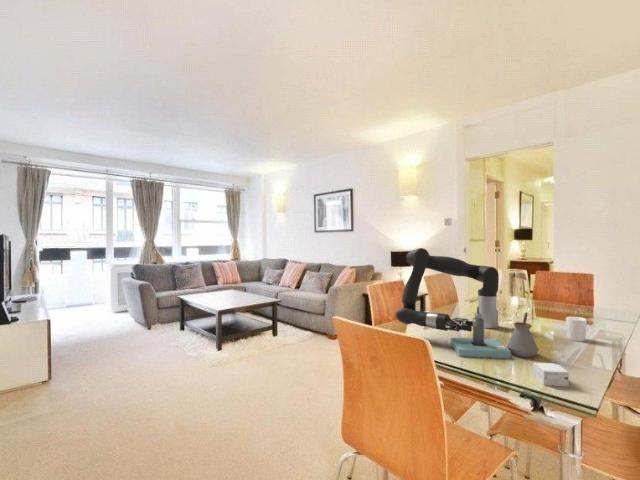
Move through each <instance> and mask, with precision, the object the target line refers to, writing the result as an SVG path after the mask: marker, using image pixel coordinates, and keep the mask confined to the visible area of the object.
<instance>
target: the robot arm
mask: <svg viewBox="0 0 640 480" xmlns="http://www.w3.org/2000/svg"><path fill="white" fill-rule="evenodd" d="M406 262H407V263H408V265H410V266H411V267H412V271H411V273H410V276H409V278H408V280H407V282H406V283H405V285H404V289H403V293H402V298H401V303H402V304H403V307H401V308H399V309H397V311H396V313H395V315H396V316H395V317H396V320H397V321H398V322H401V323H402V324H405V325H411V324H413V325H417V326H420V327H426V328H429V329H434V330H438V331H447V332H448V331H449V330H450V331H454V332H461V331H462V332H463V331H464V332H465V331H466V332H473V320H469V319H468V318H461V317H454V318H450V315H449V314H448V313H440V312H428V311H419V310H416V307H417V306H416V303H417V300H418V294H419V290H420V285H421V283H422V280H423V277H424V275H425V271H426V269H429V270H433V271H436V272H439V273H443V274H447V275H451V276H453V277H454V276H456V277H464V278H470V279H472V280H475V281H478V282H480V283H482V287H481V288H480V289H478V290H477V307H479V313H481V314H482V319H484V329H499V310H498V307H497V302H498V301H497V299H498V298H497V293H498V292H499V282H500V281H499V279H500V277H499V272H498V269H497V268H496V267H493V266H488V265H477V264H471V263H468V262H466V261H464V260H461V259H459V258H455V257H451V256H443V255H439V256H438V255H430V254H429V251H428V250H427V249H425V247H424V248H423V247H420V248H419V247H418V248H415V249H413V250H410V251H408V253H407V254H406Z"/></svg>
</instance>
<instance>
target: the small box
mask: <svg viewBox="0 0 640 480" xmlns="http://www.w3.org/2000/svg"><path fill="white" fill-rule="evenodd" d="M532 365H533V377H534V378H535V379H536V378H537V379H536V380H537V381H538V382H539V383H541V384H542V385H543V386H552V385H553V386H556V387H569V386H570V385H569V384H570V383H569V379H570V378H569V375H570V374H569V371H567V370H566V369H565V368H563V367H562V366H561V365H560V364H558V363H550V362H548V363H547V362H533V364H532Z"/></svg>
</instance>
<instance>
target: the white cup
mask: <svg viewBox="0 0 640 480" xmlns="http://www.w3.org/2000/svg"><path fill="white" fill-rule="evenodd" d="M587 321H588V320H587V319H586V318H584V317H579V316H567V317H565V323H566V324H565V325H566V326H565V327H566V334H567V339H568V340H570V341H575V342H585V341H586V335H587V324H588V323H587Z"/></svg>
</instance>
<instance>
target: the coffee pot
mask: <svg viewBox="0 0 640 480" xmlns="http://www.w3.org/2000/svg"><path fill="white" fill-rule="evenodd" d="M528 315H529V313H528V312H524V313H523V320H522V322H519V321H517V322H513V325H514V330H513V332H512V334H511V336H510V338H509V340H508V342H507V345H506V348H507V349H509V350H510V351H511V353H512V355H514V356H516V357H521V358H532V357H534V356H535V355H537V353H538V352H539V348H538V346H537V343H536V341H535V339H534V337H533V335H532V332H531V331H530V329H531V328H532V324H530V323H527V319H528Z"/></svg>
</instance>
